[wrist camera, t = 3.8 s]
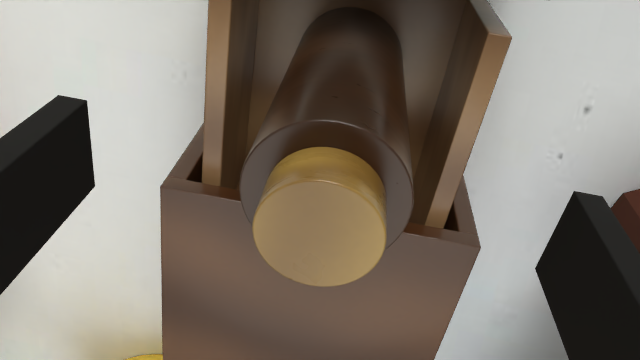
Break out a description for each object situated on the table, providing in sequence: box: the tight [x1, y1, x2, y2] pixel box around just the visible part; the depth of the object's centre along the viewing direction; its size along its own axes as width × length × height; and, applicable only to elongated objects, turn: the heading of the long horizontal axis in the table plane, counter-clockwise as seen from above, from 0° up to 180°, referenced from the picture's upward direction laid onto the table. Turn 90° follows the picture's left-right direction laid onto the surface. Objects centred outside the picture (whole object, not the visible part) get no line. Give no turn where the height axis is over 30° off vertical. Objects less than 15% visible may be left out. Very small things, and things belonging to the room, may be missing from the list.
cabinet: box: [160, 123, 481, 360], centre depth 27 cm, size 15×13×8 cm
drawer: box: [202, 0, 512, 229], centre depth 21 cm, size 15×11×6 cm
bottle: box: [239, 7, 414, 287], centre depth 18 cm, size 5×5×13 cm
